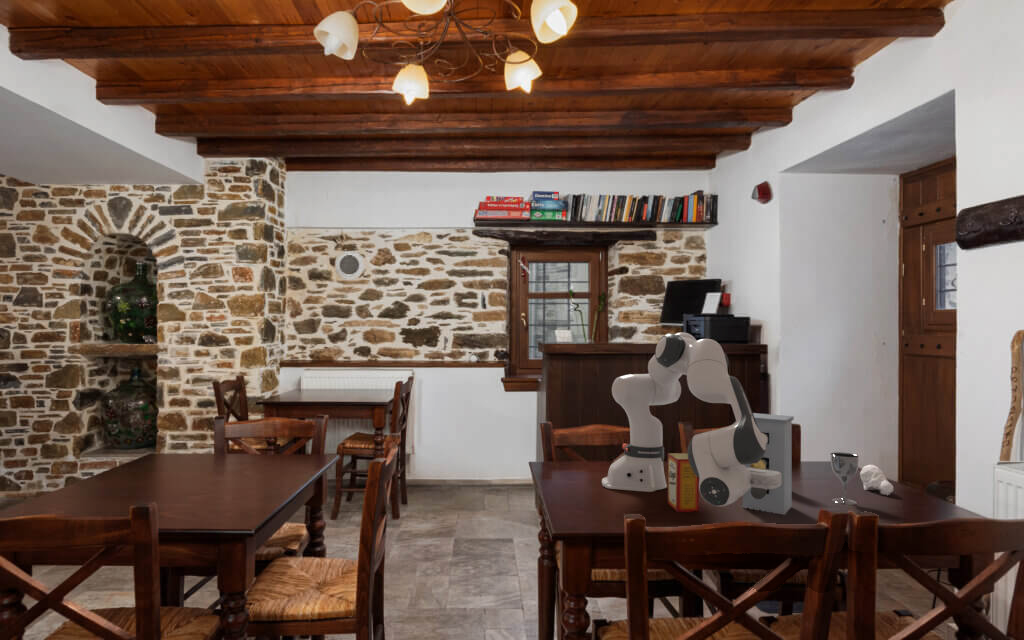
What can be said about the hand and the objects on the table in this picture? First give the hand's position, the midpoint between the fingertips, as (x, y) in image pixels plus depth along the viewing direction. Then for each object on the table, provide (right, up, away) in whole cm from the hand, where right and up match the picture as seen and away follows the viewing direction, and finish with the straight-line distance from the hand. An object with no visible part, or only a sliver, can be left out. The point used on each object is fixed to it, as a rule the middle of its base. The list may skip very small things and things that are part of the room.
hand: (747, 470), depth 172 cm
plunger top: (+11, +4, +16) cm, 19 cm away
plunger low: (+10, -11, +14) cm, 20 cm away
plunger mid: (+10, -3, +14) cm, 17 cm away
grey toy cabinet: (+13, -16, +19) cm, 28 cm away
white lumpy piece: (+59, -17, +39) cm, 73 cm away
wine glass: (+41, -17, +26) cm, 52 cm away
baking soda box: (-13, -16, +18) cm, 28 cm away
